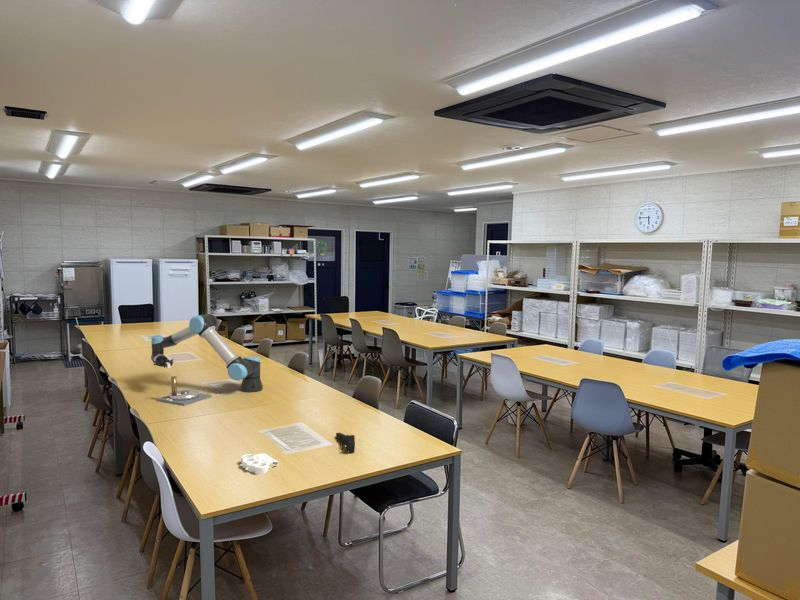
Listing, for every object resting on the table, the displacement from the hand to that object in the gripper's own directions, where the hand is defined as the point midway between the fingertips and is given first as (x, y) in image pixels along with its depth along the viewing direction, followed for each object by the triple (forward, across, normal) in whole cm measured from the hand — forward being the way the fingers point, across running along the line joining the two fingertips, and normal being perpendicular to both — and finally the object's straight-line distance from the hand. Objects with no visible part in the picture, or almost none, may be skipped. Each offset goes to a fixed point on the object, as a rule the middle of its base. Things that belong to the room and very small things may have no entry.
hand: (169, 366), depth 344 cm
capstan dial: (+10, -7, -19) cm, 22 cm away
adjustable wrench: (+138, -52, -24) cm, 149 cm away
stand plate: (+10, -7, -21) cm, 24 cm away
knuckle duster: (+139, -6, -23) cm, 141 cm away
